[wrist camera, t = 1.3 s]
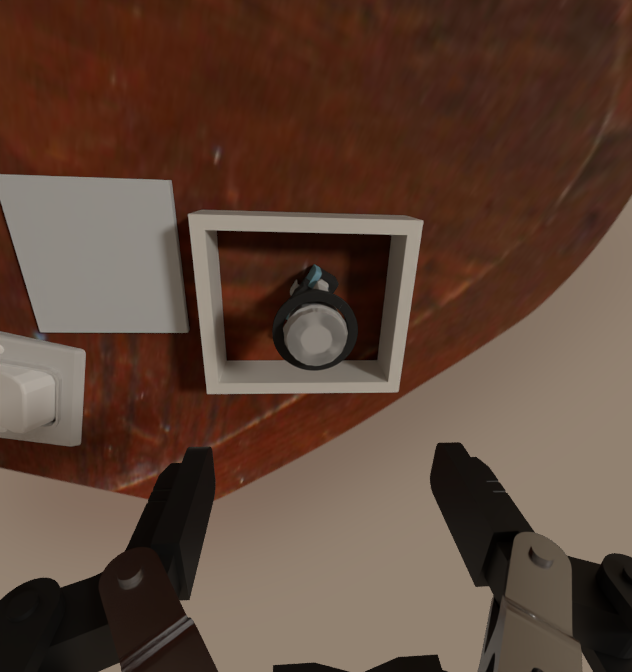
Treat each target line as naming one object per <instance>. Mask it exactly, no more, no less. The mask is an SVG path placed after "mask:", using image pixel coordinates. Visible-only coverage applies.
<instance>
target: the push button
mask: <svg viewBox="0 0 632 672" xmlns="http://www.w3.org/2000/svg"><path fill="white" fill-rule="evenodd" d="M337 287H338V282H337V280H336V277H335V276H333V275H331V274H330V273H328V272H326V271H325V270H323V269H321V268H320V267H318V266H316V265H315V264H314V265H313V266H312V268H311V269H310V272H309V273H308V275H307V277H306V278H304V279H303V281H302V282H301V284H300V285H299V284H297V279H296V280H295V282H294V284H293V285H292V287H291V289H290V295H291V297H290V298H289V299H288V300H287V301H286V302H285V303H284V304H283V305H282V306H281V308H280V309H279V310H278V312H277V314H276V316H275V319H274V323H273V331H272V333H273V341H274V344H275V347H276V349H277V351H278V352H279V354H280V355H281V356H282V357H283V359H285V360H286V361H287V362H288V363H290V364H291V365H293V366H295V367H297V368H300V369H304V370H310V371H318V370H324V369H328V368H331V367H333V366H335V365H337V364H339V363H340V362H342V361H343V360H344V359H345V358H346V357H347V356H348V355H349V354H350V352H351V351H352V349H353V348H354V345H355V343H356V340H357V335H358V325H357V320H356V317H355V315H354V313H353V311H352V309H351V308H350V306H349V305H348V304H347V303H346V302H345V301H344V300H343V299H342V298H340V297H339V296H337V295H335V294H333V293H334V291H335V290H336V288H337ZM336 308H337V309H339V310H340V311H341V312H342V314H343V315H344V317H345V321H344V319H343V318H342V317H341V315H340V314H339V313H338V311H337V309H336ZM285 319H287V320H288V321H287V323H286V324H285V326H284V328H283V324H284V321H285Z"/></svg>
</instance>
